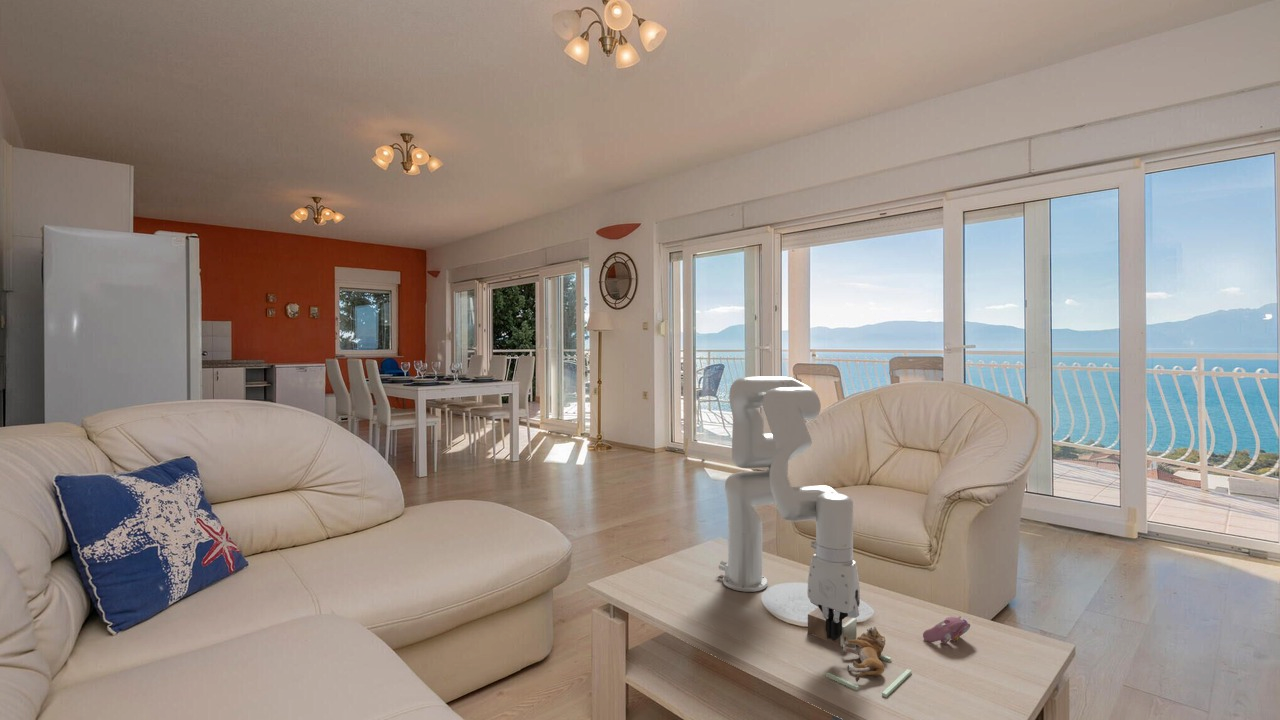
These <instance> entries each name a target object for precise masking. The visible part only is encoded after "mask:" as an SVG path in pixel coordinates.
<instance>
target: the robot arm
mask: <svg viewBox="0 0 1280 720" xmlns="http://www.w3.org/2000/svg"><path fill="white" fill-rule="evenodd" d="M728 395H729V397H728V399H729V406H730V410H731V414H732V433H731V434H732V435H731V437H732V438H731V459H732V462H733V464H734V465H735V466H736V467H738V468H740V469H760V468H763V469H764V468H765V470H754V471H753V470H751V471H739V472H735V473H733V474H732V473H731V475H729V476H728V477H727V478H726V479H725V482H724V493H725V498H726V505H727V521H728V522H727V530H728V531H727V535H728V537H727V543H728V544H727V548H728V549H727V551H728V553H727V560H723V559H722V560H721V561H720V562H719V564H718V567H717V568H718V569H719V570H720V571H724V575H723V576H722V584H723V585H724V586H725V587H727V588H728V589H730V590H734V591H737V592H744V593H745V592H746V593H751V592H752V593H754V592H759V591H762V590H765V589H766V588H767V587H768V585H769V580H768V578H766V577H765V576H764V575H763V520H762V518H761V516H760V515H759V514H758V512H757V511H756V510H755V507H759V506H766V505H767V506H768V505H775V507H776V509H777V511H778V513H779V515H780V516H781V517H782V518H783V519H784V520H785V521H788V522H803V521H805V522H806V521H815V541H813V540H812V541H811V543H810V547H811V548H812V549H815V550H814V552H815V553H814V554H812V556H811V559H810V564H809V571H808V579H807V598H808V600H809V602H810V603H811V604H813V605H814V606H816V607H817V608H819V609H820V610H821V611H822V613H823V617H824V618H825V619H826V632H827V638H828V639H832V640H834V641H835V640H836V639H837V638H839V637H840V636H841V635H842V620H843V619H844V618H845V617H850V618H856V619H857V618H858V617H860V612H859V607H860V602H861V595H860V593H861V592H860V590H861V589H860V580H859V573H858V566H857V563H856V561H855V560H854V503H853V500H852V498H851V497H850V496H848V495H847V494H845V493H844V494H843V493H840V492H838V491H837V490H836V489H834V488H833V487H831V486H829V485H826V484H820V485H819V484H817V485H800V486H791V484H790V480H789V478H788V471H789V470H788V469H789V468H788V467H789V461H790V460H792V459H794V458H796V457H798V456H800V455H802V454H803V453H805V452H806V451H807V450H809V449H810V447H811V446H812V443H813V442H812V440H813V439H812V437H811V434H810V431H809V428H808V426H807V423H806V422H805V421H809V420H810V421H811V420H814V419H816V418H817V417H819V415H820V413H821V399H820V397H819V395H818V393H817V392H816V390H814V389H813V387H811V386H809V385H807V384H805V383H803V382H801V381H799V380H797V379H795V378H793V377H790V376H789V377H788V376H746V377H739V378H738V379H735V380H734V381H733V382H732V383H731V385H730V388H729V393H728ZM760 409H763V410H764V414H765V417H766V420H767V422H768V426H769V429H770V432H771V433H764V424H765V423H764V422H765V421H764V420H765V419H764V417H763V415H762V413H761V412H760Z"/></svg>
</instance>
